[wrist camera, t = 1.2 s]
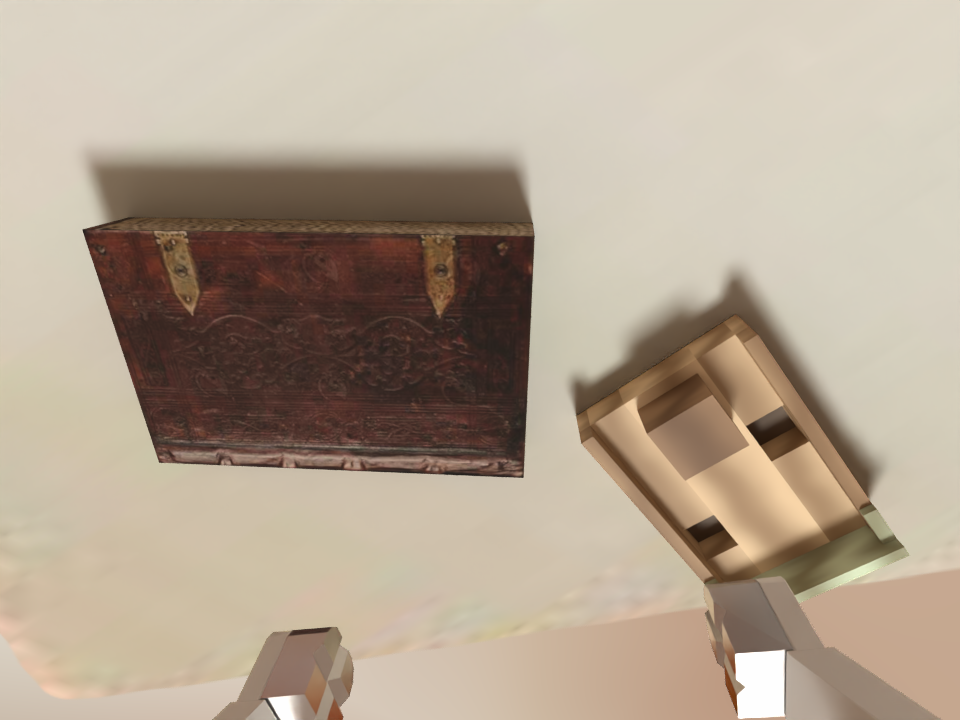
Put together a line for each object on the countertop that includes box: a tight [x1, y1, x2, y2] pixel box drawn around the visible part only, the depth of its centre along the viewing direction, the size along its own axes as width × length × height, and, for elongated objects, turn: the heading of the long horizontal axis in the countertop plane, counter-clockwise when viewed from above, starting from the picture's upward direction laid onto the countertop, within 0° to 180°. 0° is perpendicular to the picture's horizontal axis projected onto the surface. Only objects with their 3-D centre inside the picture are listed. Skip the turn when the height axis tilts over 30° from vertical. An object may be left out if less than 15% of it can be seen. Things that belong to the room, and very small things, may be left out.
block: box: [637, 373, 749, 481], centre depth 38 cm, size 5×5×3 cm
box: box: [576, 314, 909, 603], centre depth 41 cm, size 14×22×5 cm, turn 40°
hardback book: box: [83, 218, 535, 478], centre depth 39 cm, size 29×19×5 cm, turn 90°
